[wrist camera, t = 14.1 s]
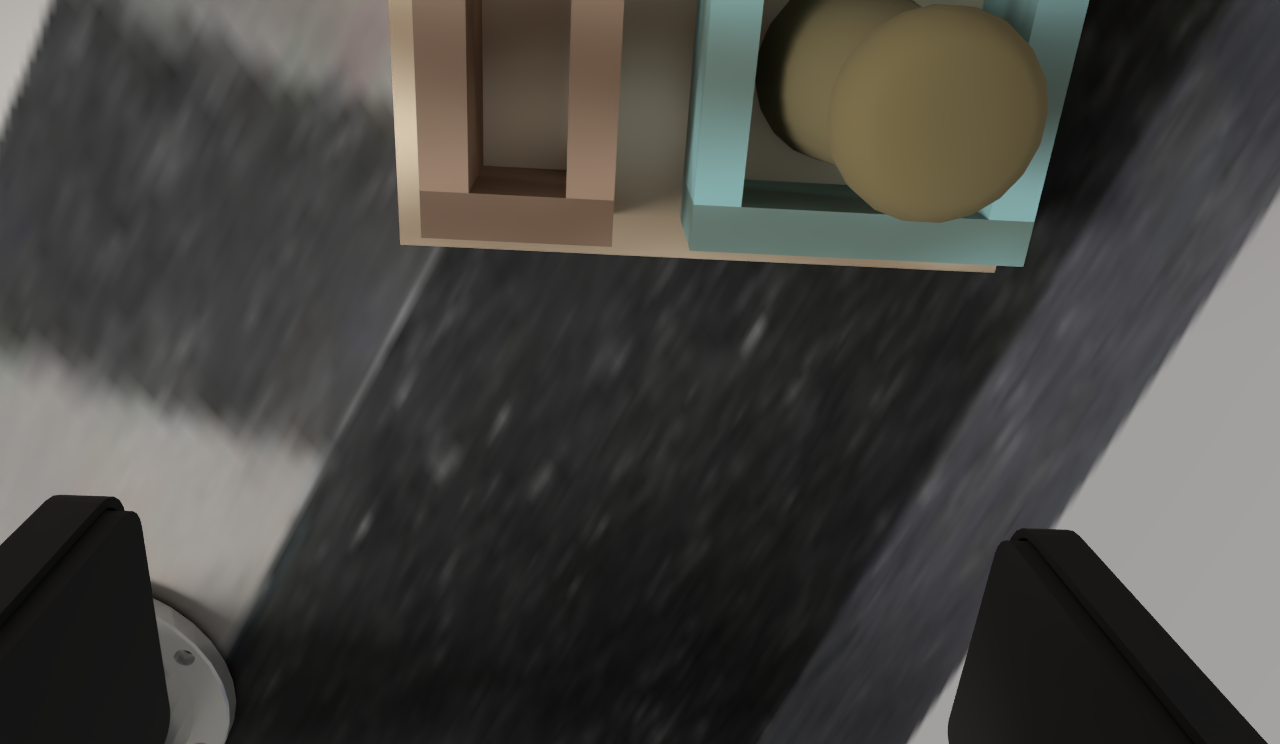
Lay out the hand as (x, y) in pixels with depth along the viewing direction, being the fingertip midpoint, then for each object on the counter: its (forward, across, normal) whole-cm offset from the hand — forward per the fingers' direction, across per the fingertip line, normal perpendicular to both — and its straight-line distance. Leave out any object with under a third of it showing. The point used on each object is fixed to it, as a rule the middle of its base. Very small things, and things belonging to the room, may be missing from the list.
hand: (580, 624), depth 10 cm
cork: (+24, -9, -4) cm, 26 cm away
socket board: (+25, -5, -4) cm, 26 cm away
